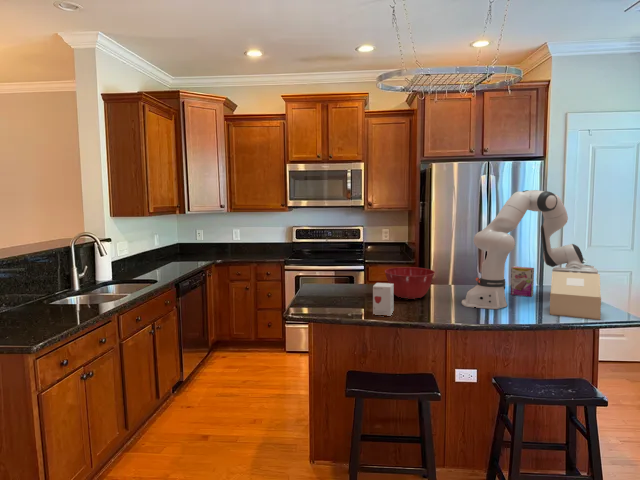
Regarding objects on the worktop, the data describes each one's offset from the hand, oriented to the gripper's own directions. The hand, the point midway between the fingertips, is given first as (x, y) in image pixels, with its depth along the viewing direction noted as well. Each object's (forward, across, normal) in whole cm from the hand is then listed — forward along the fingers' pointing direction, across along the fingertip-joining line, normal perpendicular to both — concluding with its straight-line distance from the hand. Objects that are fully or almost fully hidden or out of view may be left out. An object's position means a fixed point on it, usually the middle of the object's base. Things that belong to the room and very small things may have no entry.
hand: (574, 275), depth 209 cm
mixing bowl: (+17, -82, +16) cm, 85 cm away
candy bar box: (-14, -25, +16) cm, 33 cm away
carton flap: (+17, 0, +2) cm, 18 cm away
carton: (+16, 0, +16) cm, 22 cm away
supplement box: (+58, -81, +16) cm, 101 cm away
